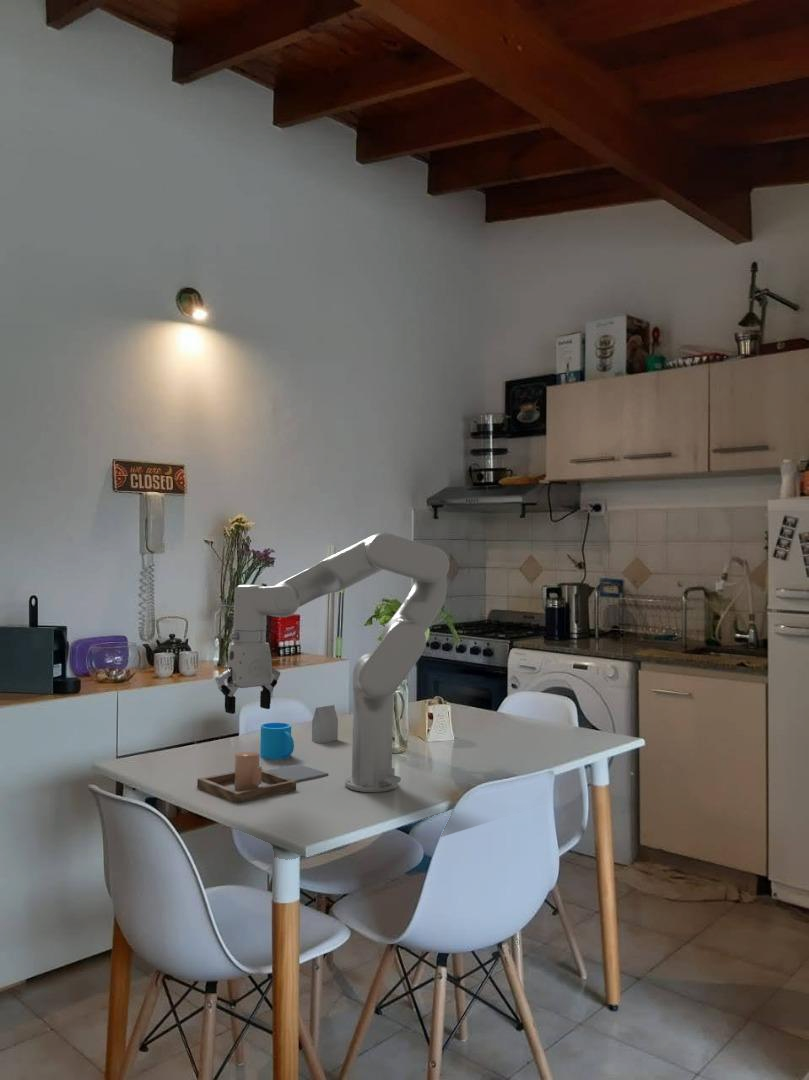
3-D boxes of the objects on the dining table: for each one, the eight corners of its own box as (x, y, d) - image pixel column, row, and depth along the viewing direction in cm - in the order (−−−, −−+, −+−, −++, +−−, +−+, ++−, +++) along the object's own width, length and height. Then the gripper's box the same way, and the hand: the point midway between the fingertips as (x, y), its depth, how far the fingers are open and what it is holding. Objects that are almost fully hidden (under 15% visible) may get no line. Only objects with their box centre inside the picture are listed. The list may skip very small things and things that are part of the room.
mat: (327, 775, 222) (328, 773, 222) (288, 783, 213) (288, 781, 213) (298, 766, 230) (298, 764, 230) (259, 773, 222) (259, 771, 222)
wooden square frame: (296, 789, 208) (296, 781, 208) (236, 802, 197) (236, 793, 197) (255, 775, 220) (255, 767, 220) (197, 787, 209) (197, 778, 209)
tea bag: (337, 739, 262) (338, 705, 262) (320, 743, 257) (320, 708, 257) (329, 737, 264) (329, 704, 264) (311, 741, 260) (312, 706, 260)
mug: (254, 755, 241) (254, 725, 241) (279, 750, 247) (279, 721, 247) (279, 763, 232) (280, 732, 232) (305, 759, 238) (305, 728, 238)
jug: (229, 788, 209) (230, 754, 209) (249, 784, 213) (250, 750, 213) (249, 795, 203) (249, 760, 203) (269, 791, 207) (269, 756, 207)
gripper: (226, 641, 200) (224, 717, 200) (289, 636, 212) (287, 708, 212) (208, 638, 205) (207, 712, 205) (270, 634, 217) (269, 704, 217)
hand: (247, 710), depth 209 cm, fingers open, 9 cm apart
